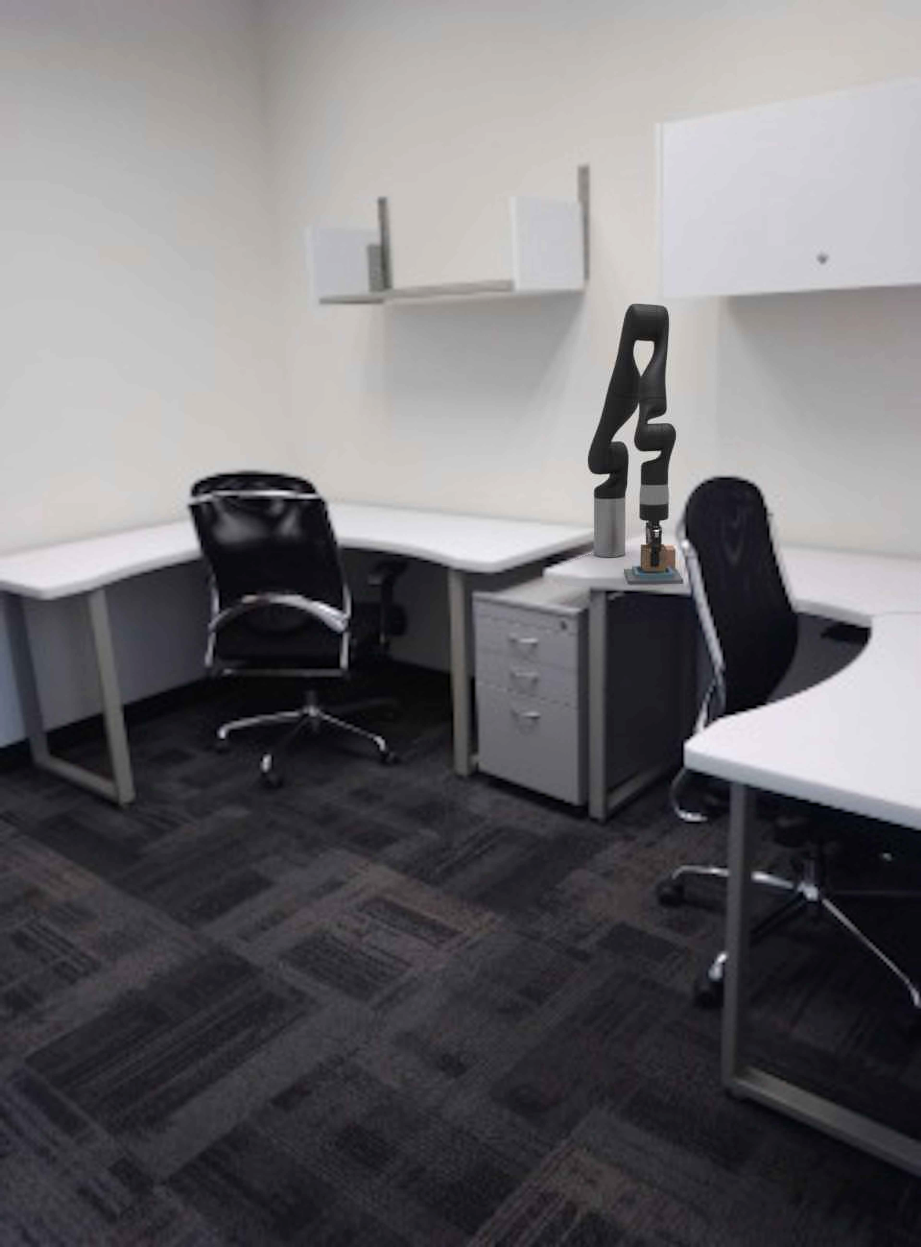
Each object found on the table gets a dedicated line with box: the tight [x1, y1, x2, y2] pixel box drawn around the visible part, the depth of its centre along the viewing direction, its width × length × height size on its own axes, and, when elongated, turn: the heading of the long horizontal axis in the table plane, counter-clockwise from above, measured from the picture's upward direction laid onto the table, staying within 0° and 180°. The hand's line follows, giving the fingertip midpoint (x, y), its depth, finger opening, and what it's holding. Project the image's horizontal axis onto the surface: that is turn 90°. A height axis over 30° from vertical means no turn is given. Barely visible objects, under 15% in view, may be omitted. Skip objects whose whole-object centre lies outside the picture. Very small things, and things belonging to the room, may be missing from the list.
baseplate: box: [623, 565, 684, 585], centre depth 259 cm, size 14×14×2 cm
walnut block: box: [639, 543, 666, 571], centre depth 257 cm, size 6×6×6 cm
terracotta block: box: [664, 545, 676, 568], centre depth 268 cm, size 6×6×6 cm
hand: (653, 564), depth 258 cm, fingers closed on walnut block, 6 cm apart
